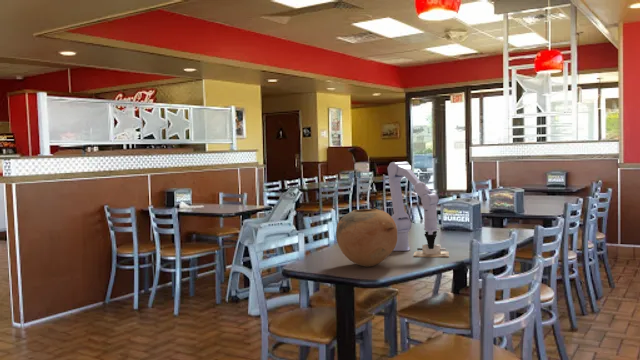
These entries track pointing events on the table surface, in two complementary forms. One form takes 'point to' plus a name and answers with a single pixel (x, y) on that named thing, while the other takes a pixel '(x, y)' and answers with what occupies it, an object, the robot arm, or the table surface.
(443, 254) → the pad
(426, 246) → the connector
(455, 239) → the table surface
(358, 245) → the pot
